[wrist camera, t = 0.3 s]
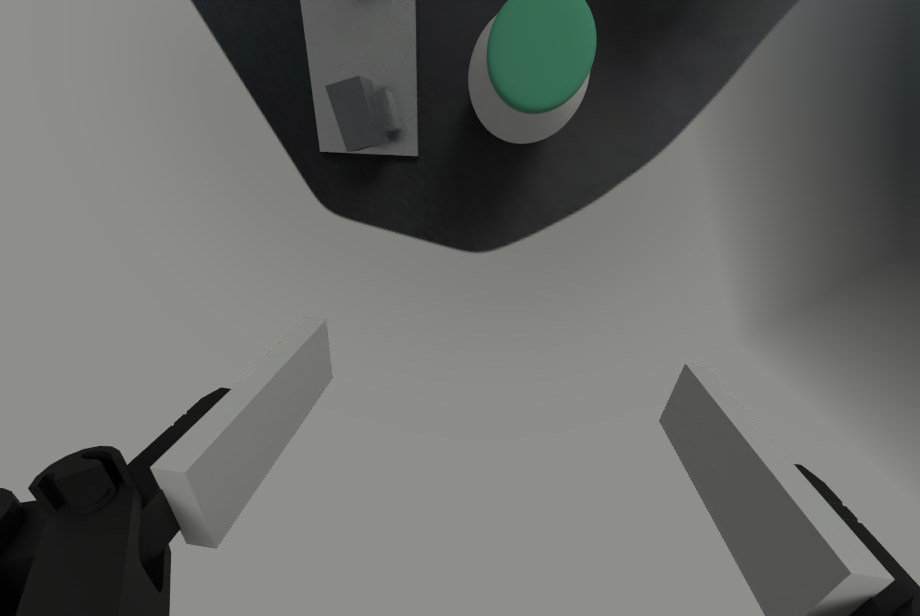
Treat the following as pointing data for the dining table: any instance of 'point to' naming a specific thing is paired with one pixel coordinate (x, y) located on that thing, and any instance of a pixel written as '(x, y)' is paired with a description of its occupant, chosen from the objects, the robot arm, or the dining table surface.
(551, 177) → the dining table surface
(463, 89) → the dining table surface
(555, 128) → the milk bottle
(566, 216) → the dining table surface
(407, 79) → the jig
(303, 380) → the robot arm
